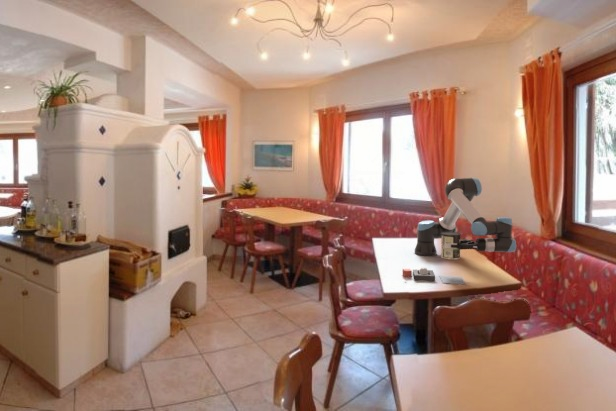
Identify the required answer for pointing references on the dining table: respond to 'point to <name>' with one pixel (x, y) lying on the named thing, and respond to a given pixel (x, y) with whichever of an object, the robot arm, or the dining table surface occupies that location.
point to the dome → (423, 271)
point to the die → (407, 273)
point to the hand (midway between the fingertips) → (442, 243)
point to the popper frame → (423, 276)
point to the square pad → (452, 280)
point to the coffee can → (450, 252)
